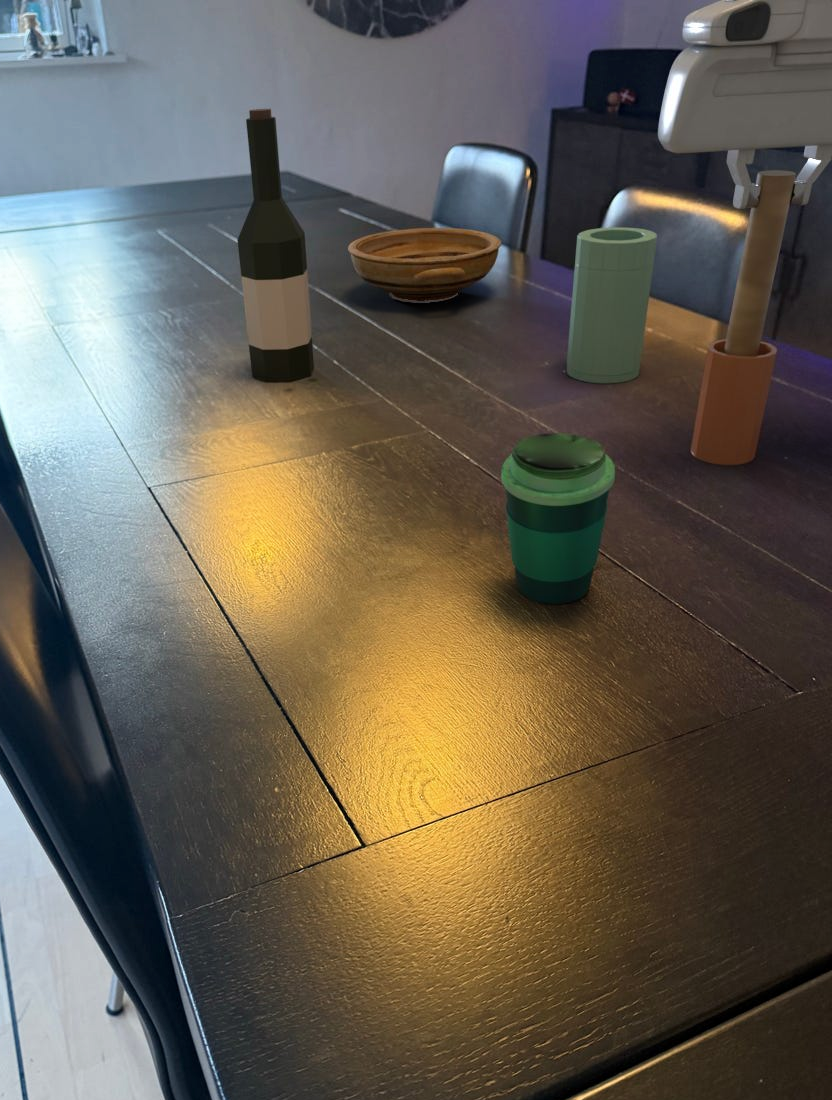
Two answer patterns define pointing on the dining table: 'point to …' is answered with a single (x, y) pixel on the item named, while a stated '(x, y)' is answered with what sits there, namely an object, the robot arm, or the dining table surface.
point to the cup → (556, 513)
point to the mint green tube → (610, 303)
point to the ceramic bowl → (424, 261)
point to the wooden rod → (759, 262)
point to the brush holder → (732, 404)
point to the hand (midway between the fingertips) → (769, 206)
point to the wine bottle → (273, 267)
